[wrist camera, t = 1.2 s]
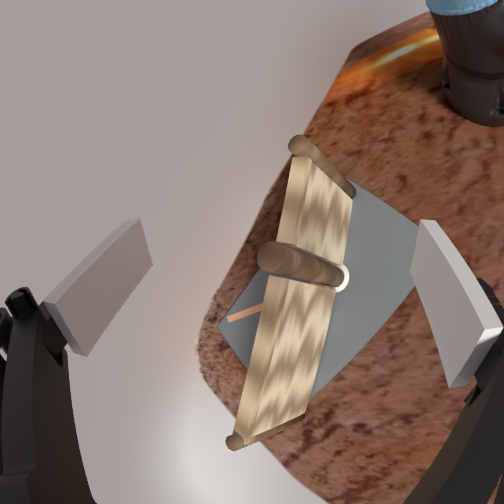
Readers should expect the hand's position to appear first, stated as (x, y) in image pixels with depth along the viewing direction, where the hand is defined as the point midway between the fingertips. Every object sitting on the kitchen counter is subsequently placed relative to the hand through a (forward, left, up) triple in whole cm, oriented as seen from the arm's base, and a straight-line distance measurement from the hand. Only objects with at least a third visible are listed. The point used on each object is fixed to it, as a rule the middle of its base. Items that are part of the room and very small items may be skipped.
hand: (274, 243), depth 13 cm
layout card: (+9, -10, -29) cm, 32 cm away
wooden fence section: (-1, -12, -29) cm, 32 cm away
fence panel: (+15, -3, -29) cm, 33 cm away
